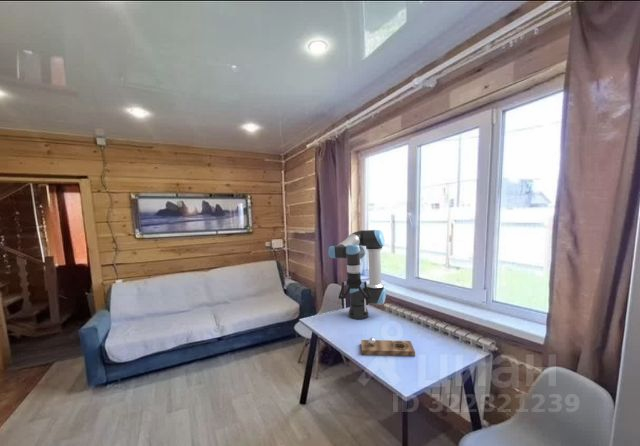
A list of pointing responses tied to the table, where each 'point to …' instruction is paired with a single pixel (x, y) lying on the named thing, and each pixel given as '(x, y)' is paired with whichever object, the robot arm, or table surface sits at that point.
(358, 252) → the robot arm
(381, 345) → the board
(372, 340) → the ball
